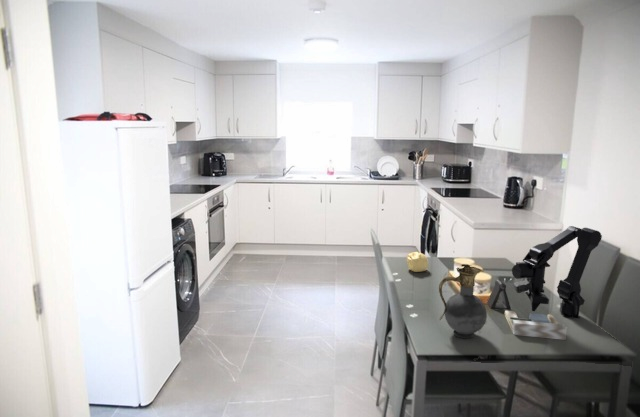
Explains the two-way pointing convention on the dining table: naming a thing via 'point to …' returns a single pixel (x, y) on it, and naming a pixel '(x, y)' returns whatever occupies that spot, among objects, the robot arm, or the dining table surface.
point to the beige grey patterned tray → (536, 327)
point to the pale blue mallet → (534, 318)
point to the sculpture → (417, 262)
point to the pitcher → (464, 304)
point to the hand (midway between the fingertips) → (533, 310)
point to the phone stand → (494, 296)
